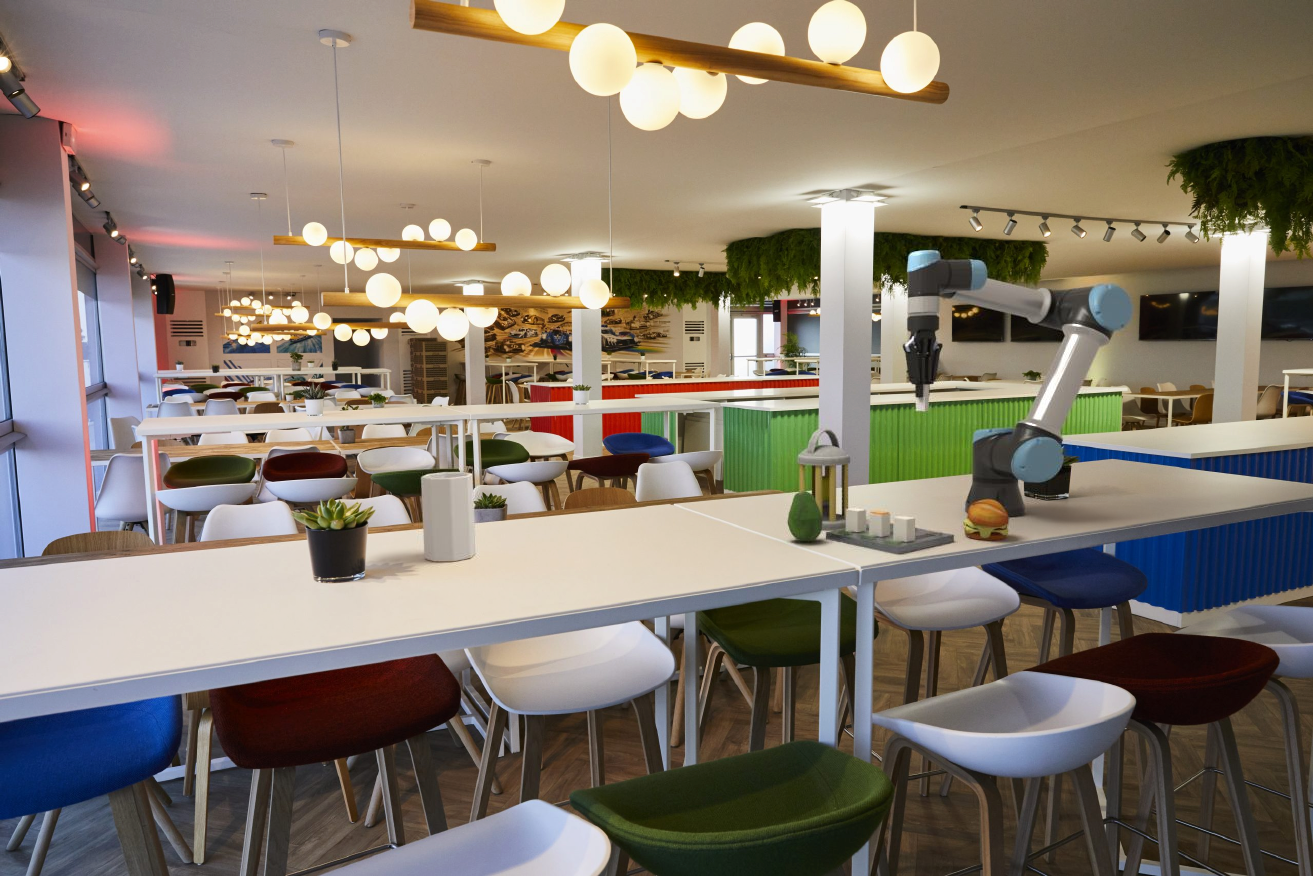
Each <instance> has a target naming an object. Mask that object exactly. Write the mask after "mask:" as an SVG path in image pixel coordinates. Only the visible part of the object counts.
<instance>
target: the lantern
mask: <svg viewBox="0 0 1313 876" xmlns="http://www.w3.org/2000/svg"><path fill="white" fill-rule="evenodd" d="M823 433H825V434H826V435H828V438H829V440H830V443H831V444H829V445H828V444H819V445H817V442H818V440H819V438H820V437H821V435H822V434H823ZM796 463H797V464H799V465H798V467H799V468H798V469H799V470H798V471H799V473H798V474H799V475H798V476H799V477H798V478H799V484H798V485H799V486H798V487H799V488H798V489H799V492H801V491H806V465H807V466H811V494H812V495H813V497H814V498H815V501H816V503H817V505H818V507H819V510H820V513H821V515H822V523H823V525H822V530H821V532H822V531H826V532H830V531H835V530H838V529H845V528H846V509H849V464H851V456H850V455H849V454H848V453H847V452H846V451H845V450H844V449H842V448H841V447H840V444H839V440H838V437H837V435H836V434H835V432H834V431H832V429H830V428H829V429H828V428H823V427H822V428H819V429H816V430H815V431H814V432H813V433H812V434H811V437H810V439H809V441H808V445H807V448H804V449H803V450H802V451H801V452H800V453H799V454H798V455H797V461H796ZM823 466H824V475H823ZM837 466H841V514H840V513H837ZM799 492H798V493H799Z"/></svg>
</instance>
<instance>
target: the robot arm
mask: <svg viewBox="0 0 1313 876" xmlns="http://www.w3.org/2000/svg"><path fill="white" fill-rule="evenodd" d="M907 260H908V261H907V269H906V273H907V314H908V315H909V316H908V317H907V318H906V321H907V322H906V327H907V328H906V329H907V331H908V332H909V333H910V335H909V339H908V340H909V341H907V343H902V349H903V351H904V354H905V360H906V368H907V375H908V380H909V382H910V383H911V385H914V386H915V390H914V391H915V393H914V394H915V396H914V397H915V412H929V411H930V409H929V408H930V392H931V391H930V390H931V389H930V387H931V386H930V385H933V384H935V382H936V380H937V374H938V368H939V363H940V361H939V360H940V355H941V351H942V349H943V343H942V342H941V343H939V342H938V341H937V335H936V332H937V331H939V330H940V316H939V315H938V314H939V313H940V312H941V311H940V309H941V308H940V307H941V306H940V305H941V304H940V303H941V302H940V298H942V299H947V300H952V301H956V302H961V303H965V304H969V305H972V306H973V305H974V306H977V307H981V308H985V309H990V310H994V311H999V312H1002V313H1006V314H1010V315H1015V316H1019V317H1023V318H1027V320H1028V322H1030V323H1032V324H1037V325H1039V326H1043V327H1047V328H1051V329H1055V330H1059V331H1062V332H1063V334H1064V337H1063V339H1062V342H1061V343H1060V345H1059V348H1058V350H1057V352H1056V355H1055V356H1054V358H1053V361H1052V363H1051V365H1050V367H1049V369H1048V372H1047V373H1046V376H1045V378H1044V379H1043V382H1042V383H1041V387H1040V388H1039V389H1038V390H1039V391H1038V393H1037V395H1036V397H1035V399H1034V401H1033V403H1032V405H1031V407H1030V409H1029V411H1028V414H1027V416H1026V418H1025V419H1022V420H1020V421H1019V420H1018V421H1017V423H1016V424H1015V427H997V428H985V429H984V428H983V429H977V430H975V431H974V433H973V437H972V442H971V445H972V473H971V474H972V480H971V481H972V482H971V486H970V489H969V492H968V495H967V497H966V500H965V502H964V503H965V504H964V509H965V510H964V511H965V512H966V513H968V509H969V507H970V506H971V504H973V503H975V502H978V501H981V500H986V499H991V500H995V501H997V502H999V503H1000V504H1001V505H1002V506H1003V508H1004V509H1005V511H1006V512H1007V514H1008V518H1009V517H1018V516H1022V515H1026V514H1025V512H1026V511H1025V510H1026V508H1025V507H1026V506H1025V501H1024V499H1023V496H1022V493H1021V490H1020V487H1019V480H1020V481H1022V482H1025V483H1037V484H1038V483H1043V482H1046V481H1049V480H1052V478H1054V477H1055V476H1057V474H1058V473H1059V471H1060V470H1061V469H1062V467H1063V465H1064V464H1063V463H1064V460H1065V456H1064V454H1063V451H1064V450H1063V448H1062V444H1063V441H1064V438H1063V435H1062V434H1061V430H1062V429H1063V426H1064V424H1065V422H1066V419H1067V417H1068V416H1069V413H1070V411H1071V409H1072V407H1073V404H1074V403H1075V401H1076V398H1077V396H1078V395H1079V394H1078V393H1079V392H1080V390H1081V388H1082V385H1083V384H1084V381H1085V379H1086V377H1087V375H1088V372H1090V369H1091V366H1092V364H1093V362H1094V360H1095V358H1096V356H1097V353H1098V351H1099V349H1100V348H1101V347H1104V346H1107V345H1108V344H1109V343H1110V342H1111V339H1112V337H1113V335H1114V333H1115V332H1116V331H1120V330H1121V329H1123V328H1125V327H1126V326H1127V325H1129V324H1130V322H1131V319H1132V317H1133V312H1134V306H1133V302H1132V301H1131V297H1130V294H1129V293H1128V292H1127V291H1126V290H1125V288H1124V287H1122V286H1120V285H1118V284H1112V283H1109V284H1104V283H1101V284H1100V283H1099V284H1096V285H1092V286H1083V287H1077V288H1076V287H1075V288H1067V289H1052V288H1051V289H1050V288H1046V287H1040V288H1038V289H1034V288H1029V287H1025V286H1021V285H1016V284H1013V283H1008V282H1006V281H1005V282H1004V281H1000V280H996V279H993V278H988V269H987V266H986V264H985V262H984V261H983V260H979V259H973V258H972V259H942V258H941V253H940V251H938V250H932V249H929V250H918V251H913V252H910V254H908V257H907Z"/></svg>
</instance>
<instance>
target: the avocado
mask: <svg viewBox="0 0 1313 876" xmlns="http://www.w3.org/2000/svg"><path fill="white" fill-rule="evenodd" d="M787 516H788V517H787V526H788V528H789V529H788V530H789V532H790V533H791V535H792V536H793V537H794V538H795V539H797V540H798V541H801V542H804V543H805V542H807V543H810V542H813V541H816V539H818V538H819V536H820V534H821V533H822V525H823V523H822V515H821V513H820V510H819V507H818V505H817V503H816V501H815V498H814V497H813V495H812V492H811V493H810V492H809V491H807V490H805V491H801V492H797V493H795V495H793V498H792V503H791V505H790V509H789V511H788V515H787Z"/></svg>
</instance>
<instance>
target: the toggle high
mask: <svg viewBox="0 0 1313 876" xmlns="http://www.w3.org/2000/svg"><path fill="white" fill-rule="evenodd" d="M892 522H893V539H894V540H899V541H904V542H909V541H913V540H915V527H916V517H911V516H905V515H899V516H894V517H893V521H892Z"/></svg>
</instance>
